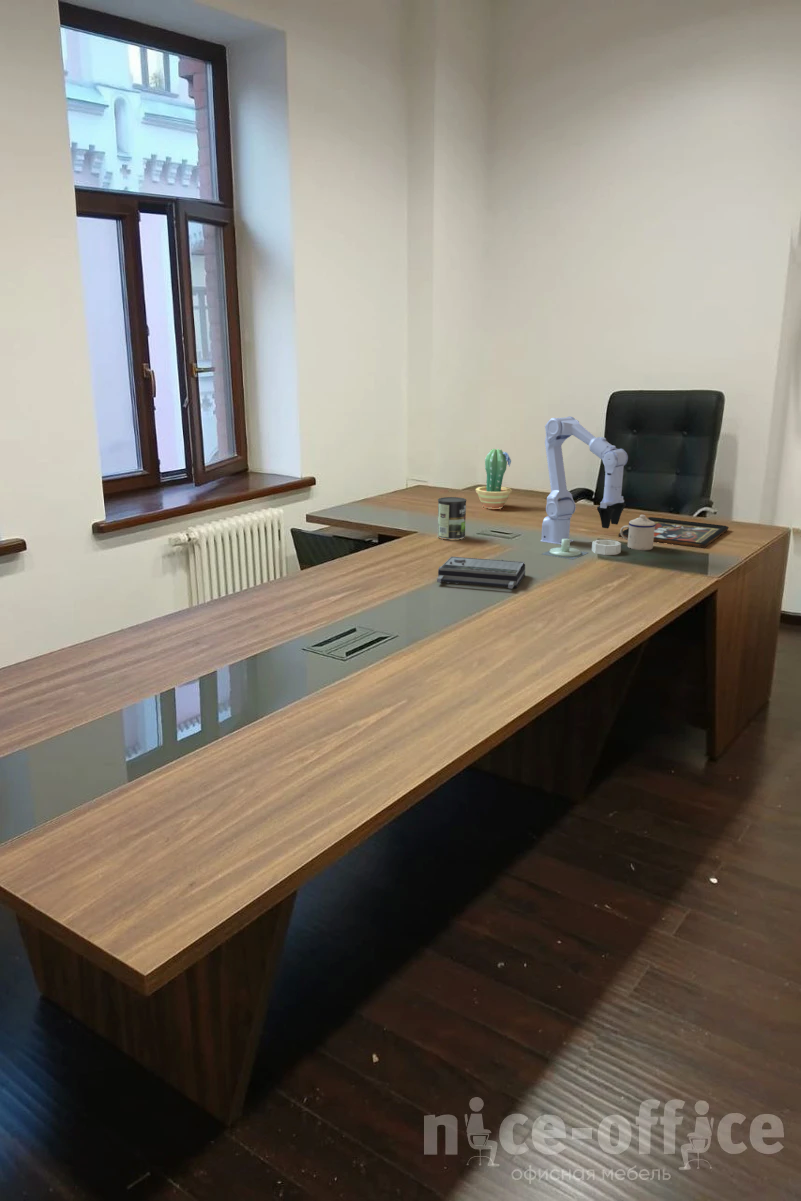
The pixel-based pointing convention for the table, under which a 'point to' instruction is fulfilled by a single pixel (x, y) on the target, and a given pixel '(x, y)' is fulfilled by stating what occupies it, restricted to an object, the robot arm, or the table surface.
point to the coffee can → (451, 517)
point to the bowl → (606, 547)
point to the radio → (482, 572)
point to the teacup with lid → (640, 533)
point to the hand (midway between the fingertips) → (610, 526)
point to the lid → (565, 550)
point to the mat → (565, 557)
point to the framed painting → (684, 532)
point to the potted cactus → (495, 480)
